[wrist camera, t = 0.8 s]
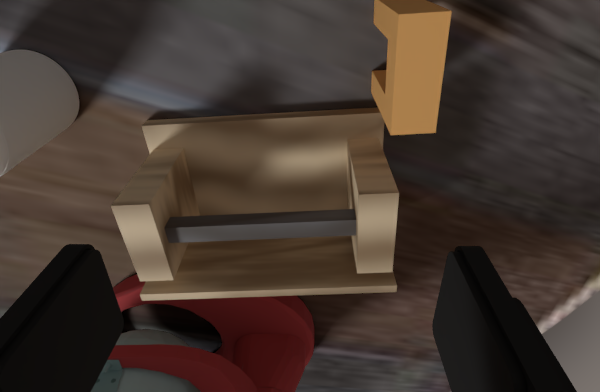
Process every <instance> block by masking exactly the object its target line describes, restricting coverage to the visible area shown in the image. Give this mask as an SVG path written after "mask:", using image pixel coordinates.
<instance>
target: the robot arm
mask: <svg viewBox="0 0 600 392" xmlns="http://www.w3.org/2000/svg"><path fill="white" fill-rule="evenodd" d="M123 327H124V319H123V316H122V313H121V310H120V307H119V304H118V301H117V299H116V296H115V293H114V290H113V287H112V285H111V282H110V279H109V276H108V273H107V270H106V268H105V265H104V262H103V259H102V256H101V254H100V252H99V251H98V250H95V249H94V247H93V246H92V245H89V244H69V245H66V246H65V247H63V248H62V250H61V251H60V252H59V253H58V254H57V255H56V256H55V257H54V259H53V260H52V261H51V262H50V263H49V264H48V265H47V267H46V268H45V269H44V270H43V271H42V272H41V273H40V274H39V276H38V277H37V278H36V279H35V280H34V281H33V282H32V283H31V285H30V286H29V287H28V288H27V289H26V290H25V291H24V292H23V294H22V295H21V296H20V297H19V298H18V299H17V300H16V301H15V303H14V304H13V305H12V306H11V307H10V308H9V309H8V311H7V312H6V313H5V314H4V315H3V316H2V317H1V318H0V392H91V390H92V389H93V387H94V385H95V383H96V381H97V379H98V377H99V375H100V373H101V371H102V369H103V367H104V366H105V364H106V362H107V360H108V358H109V356H110V354H111V352H112V350H113V348H114V346H115V345H116V343H117V341H118V339H119V337H120V335H121V333H122V331H123ZM433 335H434V338H435V341H436V344H437V348H438V351H439V354H440V357H441V360H442V363H443V366H444V369H445V372H446V375H447V378H448V382H449V385H450V388H451V391H452V392H577V391H576V390H575V388H574V386H573V385H572V383H571V382H570V380H569V378H568V377H567V375H566V373H565V372H564V370H563V369H562V367H561V365H560V364H559V362H558V361H557V359H556V357H555V356H554V354H553V352H552V351H551V349H550V348H549V346H548V344H547V343H546V341H545V339H544V338H543V336H542V334H541V333H540V331H539V330H538V328H537V326H536V325H535V323H534V321H533V320H532V318H531V317H530V315H529V313H528V312H527V310H526V308H525V307H524V305H523V304H522V303H521V301H520V300H518V299H517V298H512V296H511V295H510V293H509V291H508V290H507V288H506V286H505V285H504V283H503V281H502V280H501V278H500V276H499V275H498V273H497V271H496V270H495V268H494V266H493V265H492V263H491V261H490V260H489V258H488V256H487V255H486V253H485V251H484V250H483V248H482V247H480V246H458V247H456V249H455V251H454V252H449V253H448V256H447V261H446V265H445V270H444V274H443V279H442V283H441V288H440V292H439V296H438V301H437V305H436V310H435V314H434V319H433Z"/></svg>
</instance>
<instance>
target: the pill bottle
mask: <svg viewBox="0 0 600 392" xmlns="http://www.w3.org/2000/svg"><path fill="white" fill-rule="evenodd" d="M78 111H79V95H78V92H77V89H76V86H75V84H74V82H73V81H72V79H71V78H70V76H69V75H68V73H67V72H66V71H65V70H64V69H63V68H62V67H61V66H60V65H59V64H57V63H56V62H55V61H53V60H52V59H50V58H49V57H47V56H45V55H43V54H40V53H38V52H34V51H30V50H10V51H6V52H2V53H0V177H1V176H2V175H4V174H5V173H6V172H8V171H9V170H10V169H12V168H13V167H15V166H16V165H17V164H19V163H20V162H22V161H23V160H24V159H26V158H27V157H28V156H30V155H31V154H33V153H34V152H35V151H37V150H38V149H39V148H41V147H42V146H44V145H45V144H46V143H48V142H49V141H50V140H52V139H53V138H55V137H56V136H57V135H59V134H60V133H62V132H63V131H64V130H66V129H67V128H68V127H69V126H70V125H71V124H72V123H73V122H74V120H75V119H76V117H77V115H78Z"/></svg>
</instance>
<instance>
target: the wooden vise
mask: <svg viewBox="0 0 600 392" xmlns="http://www.w3.org/2000/svg"><path fill="white" fill-rule="evenodd" d="M142 129H143V132H144V136H145V139H146V142H147V146H148V149H149V152H150V155H149V156H148V158H147V159H146V160H145V162H144V163H143V164H142V166H141V167H140V168H139V170H138V171H137V172H136V173H135V175H134V176H133V177H132V179H131V180H130V181H129V183H128V184H127V185H126V187H125V188H124V189H123V191H122V192H121V193H120V195H119V196H118V197H117V199H116V200H115V201H114V202H113V204H112V205H111V208H112V210H113V213H114V216H115V218H116V221H117V223H118V226H119V228H120V231H121V234H122V236H123V239H124V241H125V244H126V247H127V249H128V252H129V254H130V257H131V259H132V262H133V265H134V267H135V270H136V272H137V275H138V277H139V280H140V281H146V282H145V284H144V287H143V289H142V291H141V293H140V297H141V299H142V301H151V300H180V299H209V298H238V297H267V296H296V295H325V294H354V293H383V292H396V291H397V284H396V280H395V276H394V273H393V260H394V248H395V236H396V225H397V213H398V202H399V191H398V188H397V186H396V183H395V180H394V178H393V175H392V172H391V170H390V167H389V165H388V162H387V159H386V157H385V154H384V152H383V138H384V119H383V117H382V115H381V113H380V111H379V108H378V107H375V108H357V109H339V110H321V111H303V112H285V113H267V114H249V115H231V116H213V117H195V118H177V119H159V120H147V121H146V122H145V123H144V124H143V125H142Z"/></svg>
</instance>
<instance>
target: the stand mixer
mask: <svg viewBox="0 0 600 392" xmlns="http://www.w3.org/2000/svg"><path fill="white" fill-rule="evenodd" d="M145 282H146V281H140V280H139V277H138V275H137V274H136V275H133V276H131V277H128V278H127V279H125V280H124V281H122V282H121V283H119V284H118V285H116V286H115V287H114V288H113V290H114V293H115V296H116V299H117V301H118V304H119V307H120V310H121V312H122V311H123V310H125V309H128V308H131V307H135V306H139V305H143V304H168V305H172V306H176V307H180V308H184V309H187V310H190V311H191V312H193V313H195V314H196V315H198V316H200V317H202V318H203V319H205V320H207V321H209V322H210V323H211V324H212V325H213V326H214V327H215V328H216V330H217V331H218V332H219V334H220V335H221V339H222V345H221V347H220V348H219V349H218V350H217V351H216V352H215V353H211V352H208V351H205V350H202V349H198V348H192V347H190V346H189V345H188V344H186V343H185V342H184V341H183V340H182V339H180V338H178V337H177V336H175V335H173V334H170V333H167V332H164V331H159V330H151V329H143V330H133V331H128V332H125V333H121V335H120V337H119V339H118V341H117V343H116V345H115V346H114V348H113V350H112V352H111V354H110V356H109V358H108V360H107V362H106V364H105V366H104V367H103V369H102V371H101V373H100V375H99V377H98V379H97V381H96V383H95V385H94V387H93V389H92V390H91V392H295V390H296V388H297V385H298V383H299V381H300V379H301V376H302V374H303V371H304V368H305V366H306V365H307V364H308V362H309V360H310V358H311V357H312V355H313V350H314V323H313V319H312V315H311V313H310V312H309V310H308V308H307V307H306V305H305V304H304V302H303V301H302V300H301V299H300V298H299V297H297V296H267V297H238V298H209V299H180V300H151V301H142V299H141V297H140V293H141V291H142V289H143V287H144V284H145Z"/></svg>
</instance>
